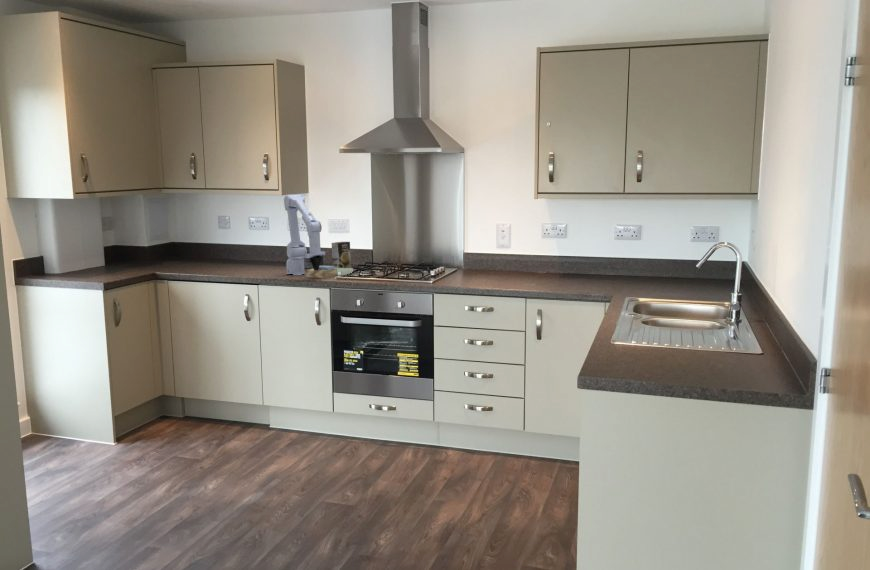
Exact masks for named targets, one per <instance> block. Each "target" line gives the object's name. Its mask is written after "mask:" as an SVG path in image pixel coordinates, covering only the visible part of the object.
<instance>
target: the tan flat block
mask: <svg viewBox="0 0 870 570" xmlns="http://www.w3.org/2000/svg"><path fill="white" fill-rule="evenodd" d="M305 273H306V274H305V278H308V277H311V279H312V278H313V279H329V278H334V277H338V270H337V268H335V269H332V270H314V269H305Z"/></svg>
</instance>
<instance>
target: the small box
mask: <svg viewBox="0 0 870 570" xmlns="http://www.w3.org/2000/svg"><path fill="white" fill-rule="evenodd" d="M309 253H310V250H307V254H309ZM321 256H322V259H321V262H320V265H319V266H325V265H324V255H321ZM308 269H313V265H312V263H311V261H310V260H309V258H304V270H308Z"/></svg>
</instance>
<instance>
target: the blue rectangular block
mask: <svg viewBox="0 0 870 570" xmlns="http://www.w3.org/2000/svg"><path fill="white" fill-rule="evenodd" d="M332 269H335V266H332V265H324V266H319V270H332Z"/></svg>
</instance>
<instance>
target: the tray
mask: <svg viewBox="0 0 870 570" xmlns="http://www.w3.org/2000/svg"><path fill="white" fill-rule="evenodd" d="M337 270H338V276H339V277H340V276H341V277H343V276H347V274H348V275H351V274H350V273H352V272H353V271H354V272H355V268H352V267H351V268H337ZM352 274H353V273H352ZM338 276H337V277H338Z"/></svg>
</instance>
